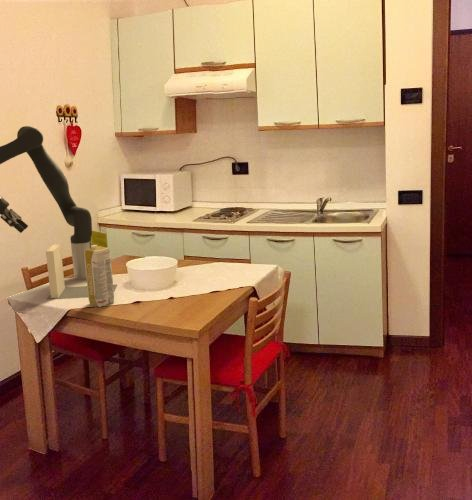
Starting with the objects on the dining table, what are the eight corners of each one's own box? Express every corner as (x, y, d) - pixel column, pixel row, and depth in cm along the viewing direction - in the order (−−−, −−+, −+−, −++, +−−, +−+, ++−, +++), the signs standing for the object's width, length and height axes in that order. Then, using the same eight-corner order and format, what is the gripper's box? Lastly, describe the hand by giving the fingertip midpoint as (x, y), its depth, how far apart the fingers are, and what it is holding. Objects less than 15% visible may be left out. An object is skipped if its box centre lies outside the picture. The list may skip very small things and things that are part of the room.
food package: (111, 275, 304) (107, 233, 299) (108, 275, 303) (105, 234, 299) (95, 270, 315) (91, 230, 311) (92, 270, 314) (89, 230, 310)
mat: (46, 300, 266) (46, 299, 266) (55, 288, 284) (55, 287, 284) (111, 296, 267) (111, 295, 267) (117, 285, 285) (117, 284, 285)
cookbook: (50, 298, 268) (45, 251, 264) (58, 288, 282) (53, 244, 278) (58, 297, 268) (53, 251, 264) (65, 288, 282) (60, 243, 278)
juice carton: (104, 299, 264) (99, 242, 259) (117, 302, 259) (112, 244, 254) (86, 305, 257) (80, 246, 252) (99, 308, 252) (93, 248, 247)
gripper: (-4, 198, 259) (27, 225, 263) (4, 194, 273) (33, 220, 277) (-16, 211, 259) (15, 238, 263) (-8, 207, 273) (21, 233, 277)
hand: (24, 229), depth 270 cm, fingers open, 8 cm apart
